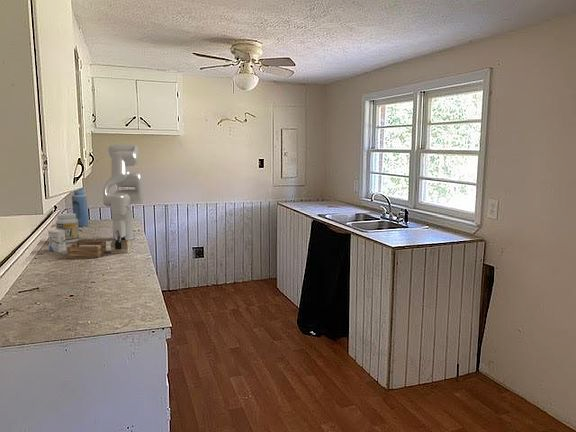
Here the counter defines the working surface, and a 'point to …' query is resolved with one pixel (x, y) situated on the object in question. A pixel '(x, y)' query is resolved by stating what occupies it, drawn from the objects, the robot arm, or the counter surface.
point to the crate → (86, 249)
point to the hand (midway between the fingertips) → (120, 247)
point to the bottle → (80, 207)
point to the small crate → (124, 247)
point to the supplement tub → (68, 226)
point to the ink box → (57, 240)
